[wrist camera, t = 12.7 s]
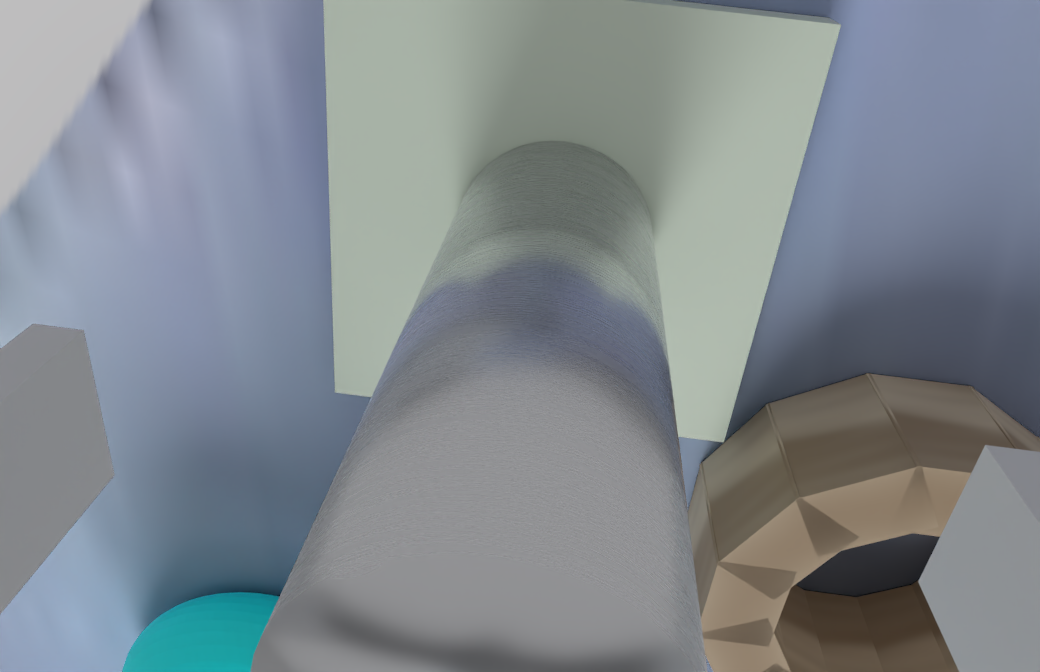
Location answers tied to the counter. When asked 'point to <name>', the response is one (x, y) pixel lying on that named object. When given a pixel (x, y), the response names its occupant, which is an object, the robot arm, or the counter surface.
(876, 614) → the collar
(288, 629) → the plug
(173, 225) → the counter surface
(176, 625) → the donuts
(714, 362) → the board
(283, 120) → the counter surface
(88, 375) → the robot arm
